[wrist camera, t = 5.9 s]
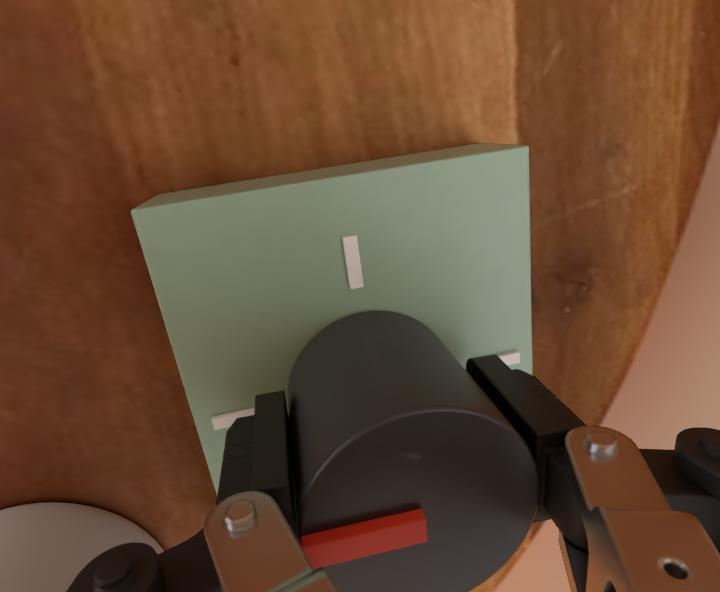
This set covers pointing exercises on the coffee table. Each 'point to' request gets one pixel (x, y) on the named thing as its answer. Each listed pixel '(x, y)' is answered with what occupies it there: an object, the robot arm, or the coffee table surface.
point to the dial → (403, 461)
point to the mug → (58, 543)
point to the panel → (337, 267)
